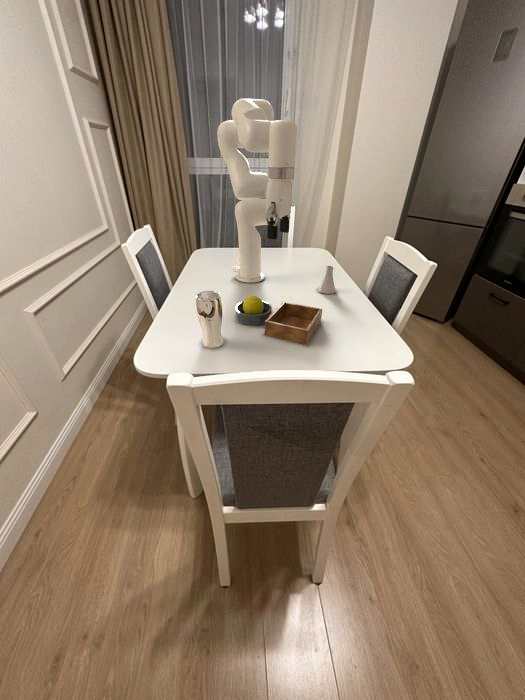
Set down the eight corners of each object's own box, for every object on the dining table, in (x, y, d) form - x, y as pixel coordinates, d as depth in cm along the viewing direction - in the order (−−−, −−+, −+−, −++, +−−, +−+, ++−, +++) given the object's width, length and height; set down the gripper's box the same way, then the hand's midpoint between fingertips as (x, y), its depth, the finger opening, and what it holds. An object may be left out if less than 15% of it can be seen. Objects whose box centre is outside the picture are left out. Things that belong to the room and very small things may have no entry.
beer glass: (202, 336, 87) (196, 290, 79) (225, 335, 88) (221, 289, 79) (200, 349, 81) (193, 301, 73) (224, 348, 82) (220, 300, 73)
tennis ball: (240, 313, 99) (240, 294, 95) (259, 310, 101) (259, 291, 97) (246, 322, 94) (246, 302, 90) (266, 318, 96) (266, 299, 92)
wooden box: (264, 335, 88) (264, 321, 85) (282, 314, 100) (283, 301, 97) (306, 345, 83) (308, 331, 81) (320, 322, 95) (322, 308, 92)
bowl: (229, 322, 95) (228, 311, 93) (246, 307, 104) (245, 297, 102) (262, 330, 91) (262, 318, 89) (277, 314, 100) (277, 303, 98)
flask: (335, 295, 114) (339, 270, 108) (317, 293, 115) (320, 269, 109) (335, 288, 120) (339, 264, 114) (318, 286, 121) (320, 263, 115)
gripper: (281, 172, 91) (278, 228, 101) (256, 175, 79) (256, 240, 89) (303, 173, 89) (298, 231, 99) (281, 177, 76) (278, 243, 86)
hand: (278, 235), depth 94 cm, fingers open, 9 cm apart
